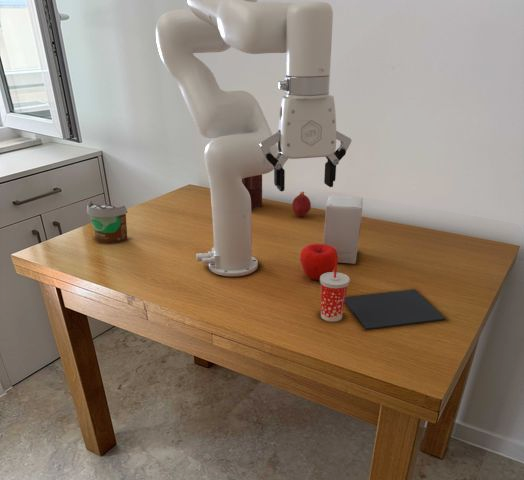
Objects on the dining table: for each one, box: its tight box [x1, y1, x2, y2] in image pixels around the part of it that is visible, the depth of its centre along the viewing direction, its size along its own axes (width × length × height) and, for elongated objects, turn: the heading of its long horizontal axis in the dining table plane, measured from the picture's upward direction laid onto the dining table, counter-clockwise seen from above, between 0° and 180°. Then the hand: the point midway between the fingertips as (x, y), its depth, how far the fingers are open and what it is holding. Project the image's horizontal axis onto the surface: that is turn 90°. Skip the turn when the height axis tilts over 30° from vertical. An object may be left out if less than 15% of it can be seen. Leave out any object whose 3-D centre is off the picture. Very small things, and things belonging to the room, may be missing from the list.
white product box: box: [322, 195, 364, 265], centre depth 133 cm, size 9×9×15 cm
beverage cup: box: [319, 255, 350, 323], centre depth 107 cm, size 6×6×14 cm
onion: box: [292, 190, 312, 218], centre depth 162 cm, size 6×6×8 cm
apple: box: [299, 243, 337, 281], centre depth 124 cm, size 9×9×8 cm
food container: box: [86, 200, 128, 244], centre depth 144 cm, size 12×6×10 cm, turn 68°
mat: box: [344, 289, 446, 331], centre depth 113 cm, size 18×14×1 cm
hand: (304, 187), depth 98 cm, fingers open, 9 cm apart
